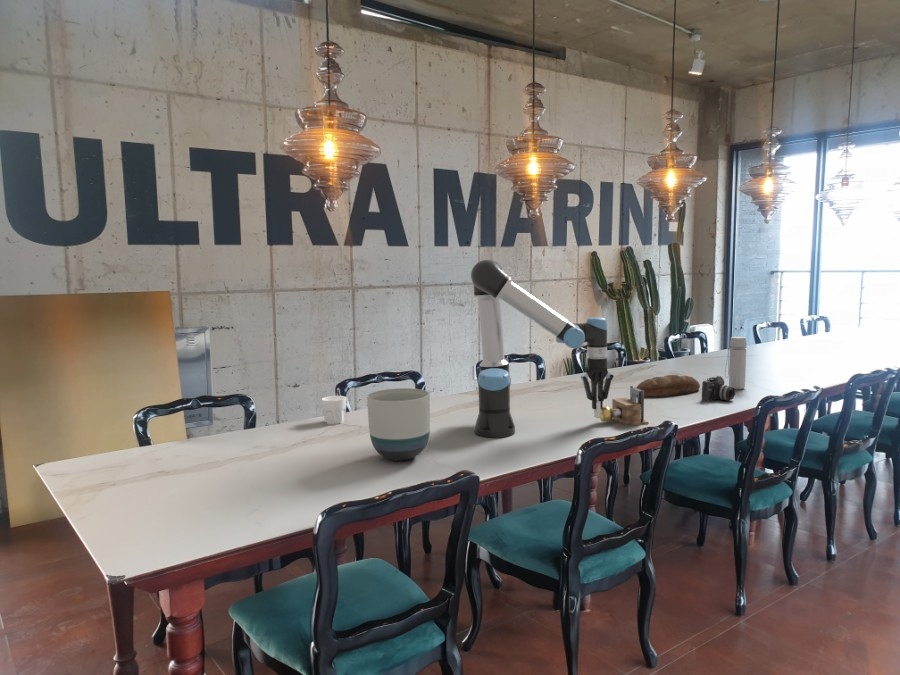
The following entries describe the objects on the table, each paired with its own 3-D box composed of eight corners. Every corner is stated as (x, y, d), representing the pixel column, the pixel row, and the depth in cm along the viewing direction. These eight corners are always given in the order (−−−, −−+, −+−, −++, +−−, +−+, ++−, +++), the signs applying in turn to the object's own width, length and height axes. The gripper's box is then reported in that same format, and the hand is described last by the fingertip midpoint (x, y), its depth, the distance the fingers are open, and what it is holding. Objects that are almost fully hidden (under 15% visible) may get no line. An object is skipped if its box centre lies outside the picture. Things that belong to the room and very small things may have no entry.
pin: (604, 422, 235) (604, 408, 234) (598, 419, 240) (598, 405, 240) (634, 420, 237) (634, 406, 237) (627, 417, 243) (627, 403, 242)
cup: (318, 424, 248) (317, 400, 247) (331, 418, 257) (330, 395, 256) (339, 425, 244) (338, 401, 243) (351, 419, 254) (350, 396, 252)
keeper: (638, 407, 236) (638, 391, 236) (630, 403, 243) (630, 387, 242) (643, 406, 237) (643, 390, 236) (635, 403, 243) (635, 387, 243)
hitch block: (626, 425, 233) (626, 392, 232) (612, 418, 245) (612, 386, 243) (648, 423, 235) (648, 391, 233) (633, 416, 247) (633, 385, 245)
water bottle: (746, 387, 297) (747, 336, 294) (744, 390, 291) (745, 338, 288) (725, 385, 302) (727, 336, 299) (723, 388, 296) (724, 337, 293)
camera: (722, 404, 264) (723, 382, 263) (699, 400, 272) (699, 378, 271) (738, 399, 273) (739, 377, 272) (714, 395, 281) (715, 374, 280)
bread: (708, 391, 291) (708, 374, 290) (649, 400, 276) (650, 382, 275) (683, 386, 305) (684, 369, 304) (626, 394, 290) (626, 377, 289)
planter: (380, 471, 188) (377, 404, 185) (362, 453, 206) (360, 392, 204) (440, 461, 196) (439, 396, 193) (418, 445, 214) (416, 386, 212)
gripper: (585, 359, 229) (585, 420, 232) (617, 357, 232) (617, 418, 235) (577, 357, 237) (577, 416, 239) (608, 355, 239) (608, 413, 242)
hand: (597, 417), depth 237 cm, fingers closed
